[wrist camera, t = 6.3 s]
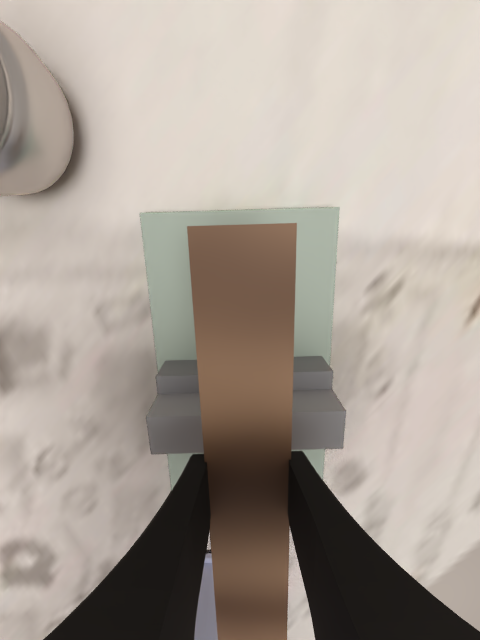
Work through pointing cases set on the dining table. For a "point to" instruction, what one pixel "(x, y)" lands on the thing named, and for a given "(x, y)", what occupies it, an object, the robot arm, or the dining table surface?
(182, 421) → the balance stand
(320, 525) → the robot arm
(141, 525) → the dining table surface
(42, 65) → the plastic bottle
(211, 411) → the walnut beam
